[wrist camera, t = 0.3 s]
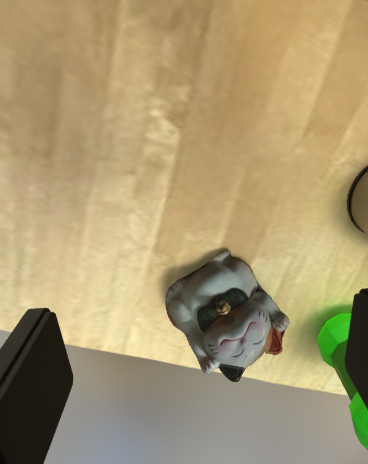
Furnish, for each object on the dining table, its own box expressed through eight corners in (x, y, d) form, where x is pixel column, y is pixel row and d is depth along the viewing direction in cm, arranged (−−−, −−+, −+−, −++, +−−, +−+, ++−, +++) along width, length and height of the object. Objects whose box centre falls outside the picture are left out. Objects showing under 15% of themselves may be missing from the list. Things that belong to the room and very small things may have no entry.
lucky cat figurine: (247, 238, 49) (307, 314, 40) (251, 283, 58) (301, 355, 49) (152, 282, 48) (192, 373, 38) (171, 322, 56) (207, 404, 47)
